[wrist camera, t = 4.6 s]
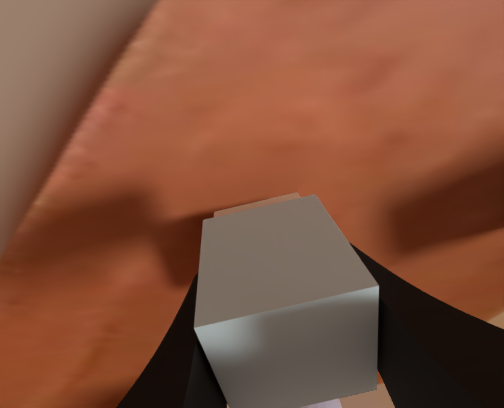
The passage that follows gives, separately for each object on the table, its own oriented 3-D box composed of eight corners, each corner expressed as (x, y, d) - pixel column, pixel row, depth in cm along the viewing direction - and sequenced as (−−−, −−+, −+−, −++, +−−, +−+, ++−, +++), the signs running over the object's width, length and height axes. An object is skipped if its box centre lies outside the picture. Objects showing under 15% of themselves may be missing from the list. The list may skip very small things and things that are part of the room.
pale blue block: (323, 278, 13) (376, 389, 9) (229, 300, 13) (235, 422, 9) (315, 194, 11) (379, 285, 7) (203, 220, 11) (193, 328, 7)
